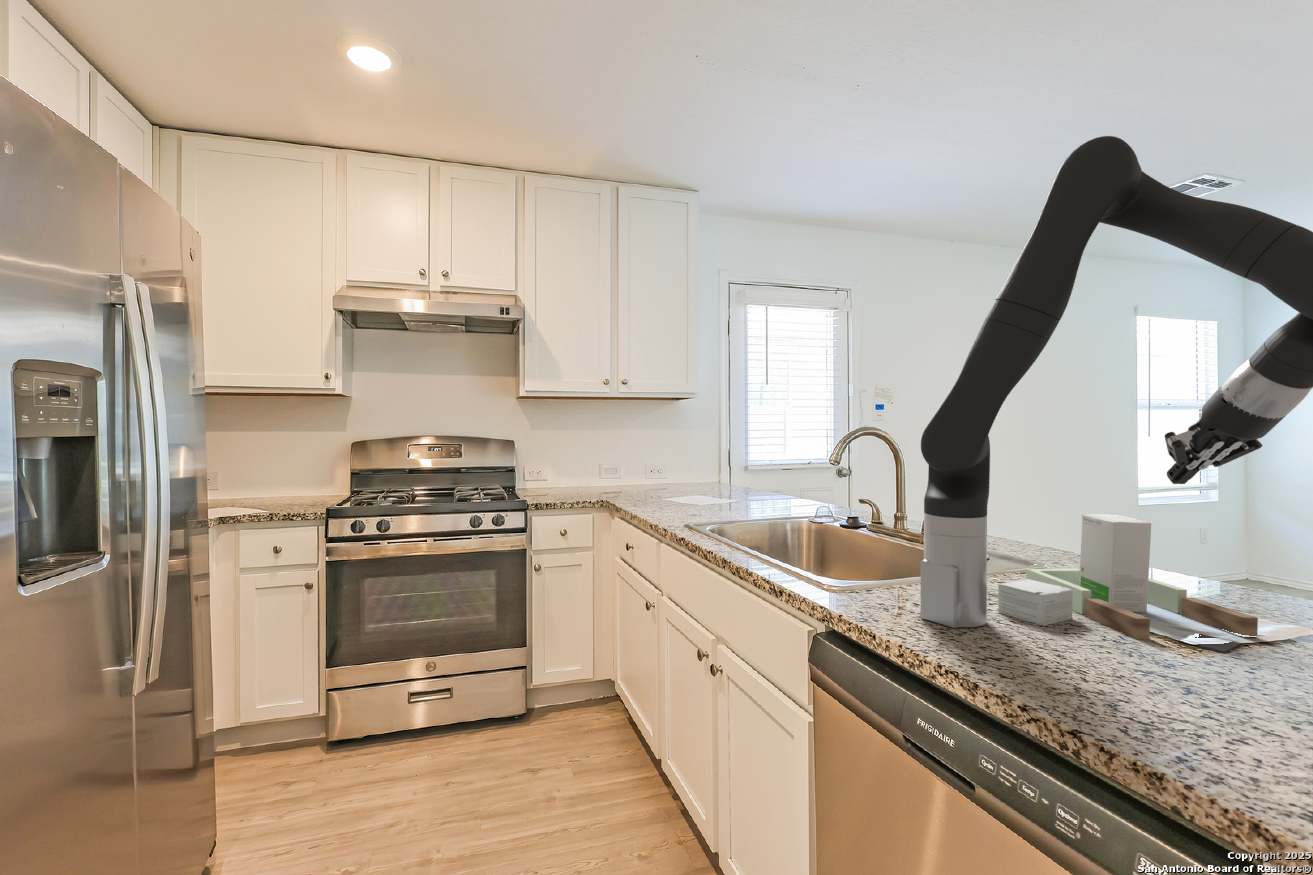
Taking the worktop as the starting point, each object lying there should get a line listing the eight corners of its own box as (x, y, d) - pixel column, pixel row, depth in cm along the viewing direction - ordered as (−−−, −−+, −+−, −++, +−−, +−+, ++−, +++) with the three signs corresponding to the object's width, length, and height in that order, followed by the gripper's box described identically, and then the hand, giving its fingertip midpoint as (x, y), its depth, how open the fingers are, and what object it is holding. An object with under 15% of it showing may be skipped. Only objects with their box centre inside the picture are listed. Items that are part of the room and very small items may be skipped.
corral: (1186, 613, 101) (1186, 589, 101) (1082, 614, 101) (1082, 590, 100) (1117, 589, 116) (1117, 568, 116) (1026, 589, 116) (1026, 569, 115)
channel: (1257, 637, 89) (1257, 617, 89) (1136, 639, 89) (1136, 618, 89) (1193, 615, 100) (1193, 597, 100) (1085, 616, 99) (1085, 598, 99)
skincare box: (1077, 599, 109) (1078, 513, 109) (1114, 599, 109) (1115, 513, 109) (1111, 613, 101) (1112, 520, 101) (1151, 613, 101) (1152, 520, 101)
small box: (1026, 606, 105) (1027, 577, 105) (1073, 620, 98) (1074, 588, 98) (996, 613, 102) (996, 582, 102) (1042, 627, 95) (1043, 594, 95)
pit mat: (1224, 653, 83) (1224, 650, 83) (1179, 641, 88) (1179, 639, 88) (1240, 644, 86) (1240, 642, 86) (1196, 634, 91) (1196, 632, 91)
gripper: (1285, 378, 83) (1201, 461, 95) (1189, 378, 83) (1118, 461, 95) (1327, 416, 78) (1233, 499, 90) (1225, 416, 78) (1145, 499, 90)
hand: (1174, 479), depth 93 cm, fingers closed
